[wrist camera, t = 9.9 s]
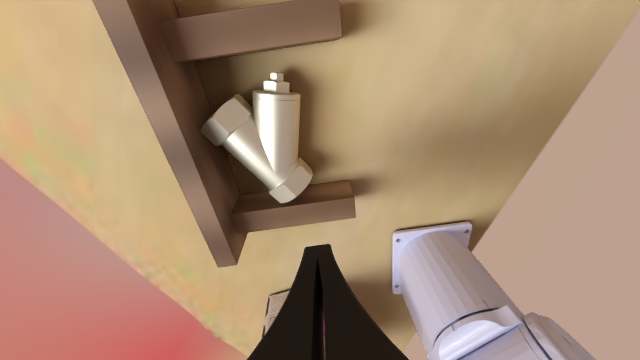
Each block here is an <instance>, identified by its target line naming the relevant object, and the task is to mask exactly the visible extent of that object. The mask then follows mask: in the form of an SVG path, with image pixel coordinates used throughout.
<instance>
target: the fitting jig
mask: <svg viewBox="0 0 640 360" xmlns="http://www.w3.org/2000/svg"><path fill="white" fill-rule="evenodd" d="M92 1H93V3H94V5H95V7H96V9H97V11H98V14H99V16H100V18H101V20H102V22H103V24H104V26H105V28H106V31H107V33H108V35H109V37H110V39H111V41H112V43H113V45H114V48H115V50H116V52H117V54H118V56H119V58H120V60H121V62H122V65H123V67H124V69H125V71H126V73H127V75H128V77H129V79H130V81H131V84H132V86H133V88H134V90H135V92H136V94H137V96H138V98H139V101H140V103H141V105H142V107H143V109H144V111H145V113H146V115H147V118H148V120H149V122H150V124H151V126H152V128H153V130H154V132H155V135H156V137H157V139H158V141H159V143H160V145H161V147H162V149H163V152H164V154H165V156H166V158H167V160H168V162H169V164H170V166H171V169H172V171H173V173H174V175H175V177H176V179H177V181H178V183H179V186H180V188H181V190H182V192H183V194H184V196H185V198H186V200H187V203H188V205H189V207H190V209H191V211H192V213H193V215H194V217H195V219H196V222H197V224H198V226H199V228H200V230H201V232H202V234H203V236H204V239H205V241H206V243H207V245H208V247H209V249H210V251H211V253H212V256H213V258H214V260H215V262H216V264H217V266H218V267H226V266H233V265H237V263H238V260H239V257H240V254H241V251H242V248H243V245H244V242H245V239H246V236H247V233H248V232H255V231H262V230H269V229H277V228H284V227H291V226H299V225H306V224H313V223H321V222H328V221H335V220H343V219H350V218H356V212H355V199H354V195H353V192H352V189H351V186H350V183H349V180H345V181H338V182H331V183H324V184H316V185H309V186H307V187H306V188H305V189H304V190H303V191H302V192H301V193H300V194H299V195H298V196H297V197H296V198H294V199H293V200H291V201H289V202H286V203H280V202H278V201H277V200H276V199H275V198H274V197H273V196H272V195H271V194H269V191H266V192H259V193H252V194H245V195H240V194H239V191H238V188H237V185H236V182H235V179H234V176H233V173H232V170H231V167H230V164H229V161H228V159H227V156H226V153H225V150H224V147H223V146H222V145H218V146H215V145H214V144H213V143H212V142H211V141H210V140H209V139H208V138H206V137H205V136H204V135H203V134H202V133H201V128H202V126H203V125H204V123H205V122H206V121H207V120H208V119H209V118H210V117H211V116H212V112H211V109H210V106H209V103H208V100H207V97H206V94H205V91H204V88H203V85H202V82H201V79H200V77H199V74H198V71H197V68H196V65H195V62H196V61H202V60H209V59H215V58H222V57H229V56H235V55H242V54H248V53H255V52H262V51H268V50H275V49H281V48H288V47H295V46H301V45H308V44H314V43H321V42H328V41H334V40H337V39H339V38H341V37H342V29H341V16H340V3H339V0H294V1H287V2H281V3H274V4H268V5H262V6H255V7H249V8H242V9H236V10H229V11H223V12H217V13H210V14H204V15H197V16H191V17H184V18H179V15H178V12H177V9H176V6H175V3H174V0H92Z"/></svg>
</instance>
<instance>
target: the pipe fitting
mask: <svg viewBox="0 0 640 360" xmlns="http://www.w3.org/2000/svg"><path fill="white" fill-rule="evenodd" d="M283 78H284V74H281V73H270V80H264V90H253V92H252V93H253V108H252V107H251V106H250V105H249V103H248V102H247V101H246V100H245V99H244V98H243V97H242V96H241V95H235V96H233V97H232V98H230V99H229V100H228V101H227V102H226V103H224V104H223V105H222V106H221V107H220V108H219V109H218V110H217V111H216V112H215V113H214V114H213V115H212V116H211V117H210V118H209V119H208V120H207V121H206V122H205V123H204V125H203V126H202V128H201V133H202V134H203V135H204V136H205V137H206V138H208V139H209V140H210V141H211V142H212V143H213V144H214V145H215V146H218V145H222V146H223V147H224V148H225V149H226V150H227V151H228V152H230V153H231V154H232V155H233V156H234V157H235V158H236V159H237V160H238V161H240V162H241V163H242V164H243V165H244V166H245V167H246V168H247V169H248V170H250V171H251V172H252V173H253V174H254V175H255V176H256V177H257V178H258V179H259V180H261V181H262V182H263V183H264V184H265V185H266V186H267V187H268V190H269V194H271V195H272V196H273V197H274V198H275V199H276V200H277V201H278V202H280V203H286V202H289V201H291V200H293V199H294V198H296V197H297V196H298V195H299V194H300V193H301V192H302V191H303V190H304V189H305V188H306V187H307V186H308V184H309V183H310V181H311V179H312V176H313V173H312V170H311V168H310V167H309V166H308V165H307V164H306V163H305V162H304V161H303V160H302V159H301V158H300V157H299V158H298V144H299V121H300V98H301V95H300V94H299V93H294V92H289V86H290V82H285V81H283Z"/></svg>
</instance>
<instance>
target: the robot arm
mask: <svg viewBox="0 0 640 360" xmlns="http://www.w3.org/2000/svg"><path fill="white" fill-rule="evenodd" d="M465 230H466V231H465ZM471 231H472V224H471V223H470V222H460V223H453V224H445V225H438V226H430V227H423V228H416V229H408V230H401V231H396V232H394V233H393V243H392V292H393V294H402V296H403V298H404V301H405V303H406V306H407V308H408V311H409V313H410V316H411V318H412V321H413V323H414V326H415V328H416V331H417V333H418V336H419V338H420V340H421V343H422V345H423V347H424V348H425V350H426V351H427V352H428V353H427V357H428V360H596V359H595V358H594V357H593V356H592V355H591V354H590V353H589V352H588V351H587V350H585V348H583V347H582V346H581V345H580V344H579V343H578V342H577V341H576V340H575V339H574V338H573V337H572V336H571V335H570V334H569V333H567V332H566V331H565V330H564V329H563V328H562V327H561V326H559V325H558V324H557V323H556V322H554V321H553V320H552V319H550V318H548V317H545V316H541V315H538V314H535V313H533V312H531V313H529V314H527V315H524V314H523V313H521V311H520V310H519V309H518V307H517V306H516V305H515V304H514V303H513V302H512V300H511V299H510V298H509V297H508V296H507V294H506V293H505V292H504V291H503V290H502V289H501V287H500V286H499V285H498V284H497V282H496V281H495V280H494V279H493V278H492V277H491V275H490V274H489V273H488V272H487V271H486V270H485V268H484V267H483V266H482V265H481V263H480V262H479V261H478V260H477V259H476V258H475V256H474V255H473V254H472V253H471V252H470V250H469V249H468V245H469V240H470V235H471ZM397 239H399V240H397ZM324 322H325V354H324ZM247 360H409V359H408V358H407V357H406V356H405V355H404V354H403V353H402V352H401V351H400V350H399V349H398V348H397V347H396V346H395V345H394V344H393V343H392V342H391V340H390V339H389V338H388V337H387V336H386V335H385V334H384V333H383V332H382V330H381V329H380V328H379V327H378V326H377V324H376V323H375V322H374V321H373V320H372V318H371V317H370V316H369V315H368V313H367V312H366V311H365V309H364V308H363V307H362V305H361V304H360V302H359V301H358V300H357V298H356V297H355V295H354V294H353V292H352V291H351V289H350V287H349V286H348V284H347V282H346V281H345V279H344V277H343V275H342V273H341V271H340V269H339V267H338V265H337V263H336V261H335V258H334V255H333V253H332V249H331V245H329V244H325V245H317V246H310V247H306V248H305V249H304V253H303V257H302V261H301V264H300V267H299V269H298V272H297V275H296V277H295V280H294V282H293V284H292V287H291V289H290V291H289V293H288V295H287V298H286V300H285V301H284V303H283V305H282V307H281V309H280V311H279V313H278V314H277V316H276V318H275V319H274V321H273V323H272V324H271V326H270V328H269V329H268V331H267V332H266V334H265V335H264V337H263V338H262V340H261V341H260V342H259V344H258V345H257V347H256V348H255V350H254V351H253V352H252V354H251V355H250V356H249V358H248V359H247Z"/></svg>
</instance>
